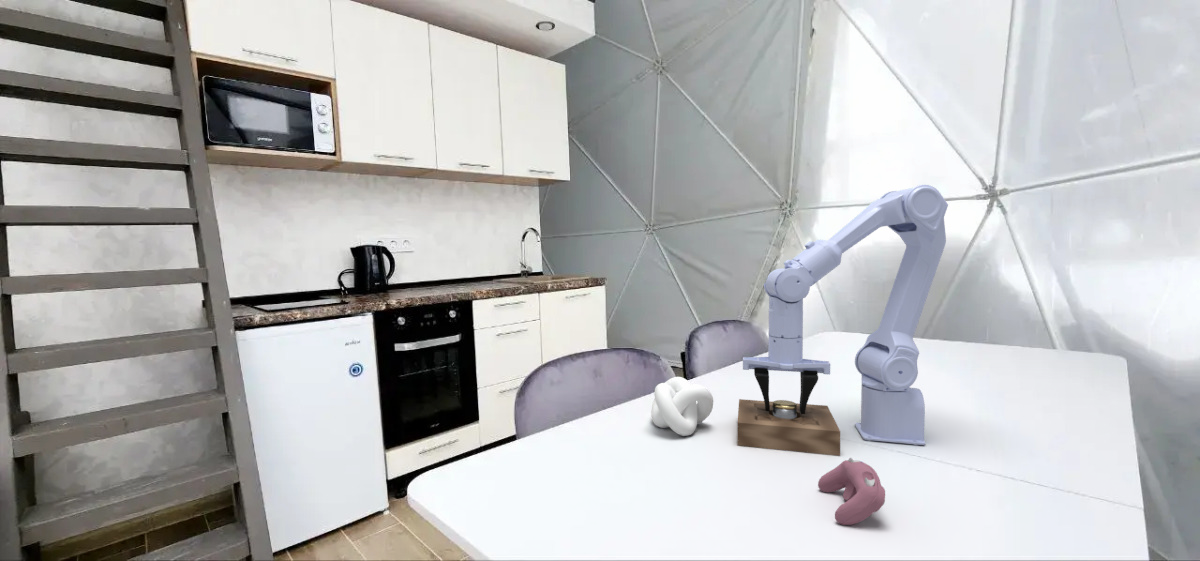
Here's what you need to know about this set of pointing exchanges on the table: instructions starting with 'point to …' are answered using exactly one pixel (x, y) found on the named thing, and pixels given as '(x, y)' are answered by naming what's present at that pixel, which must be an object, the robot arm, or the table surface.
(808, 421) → the jig
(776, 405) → the brass capped cylinder
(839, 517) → the video game controller
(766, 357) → the robot arm
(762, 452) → the table surface
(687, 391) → the white knot sculpture
